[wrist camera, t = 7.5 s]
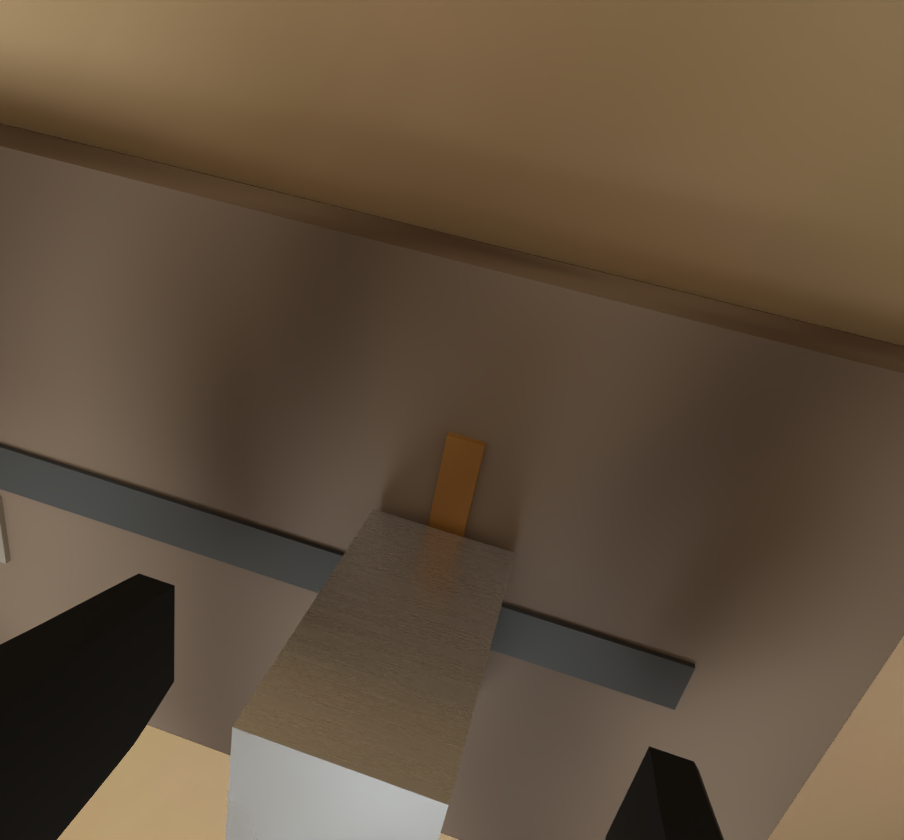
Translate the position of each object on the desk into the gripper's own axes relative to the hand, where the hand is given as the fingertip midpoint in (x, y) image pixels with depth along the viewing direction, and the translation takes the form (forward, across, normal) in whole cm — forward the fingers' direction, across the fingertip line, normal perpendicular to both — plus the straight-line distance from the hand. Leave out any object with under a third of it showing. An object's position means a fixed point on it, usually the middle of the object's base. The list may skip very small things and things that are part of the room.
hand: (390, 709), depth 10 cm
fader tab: (+2, 0, 0) cm, 2 cm away
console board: (+4, +3, 0) cm, 5 cm away
